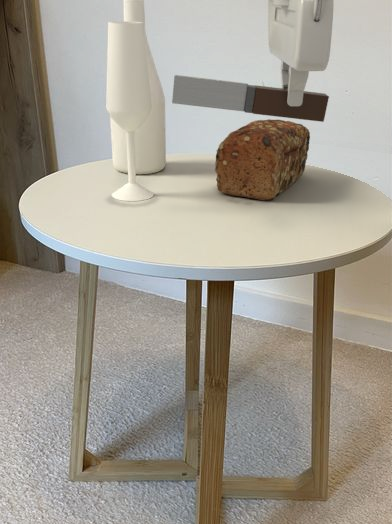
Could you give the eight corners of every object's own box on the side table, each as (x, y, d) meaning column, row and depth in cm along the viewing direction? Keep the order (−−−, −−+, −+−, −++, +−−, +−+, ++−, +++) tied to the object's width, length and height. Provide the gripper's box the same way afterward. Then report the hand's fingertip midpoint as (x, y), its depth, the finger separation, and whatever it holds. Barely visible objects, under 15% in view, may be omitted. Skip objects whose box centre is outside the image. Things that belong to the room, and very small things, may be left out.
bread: (273, 204, 92) (279, 136, 87) (210, 194, 96) (212, 129, 90) (308, 175, 106) (315, 115, 101) (252, 167, 110) (255, 110, 105)
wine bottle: (165, 161, 113) (162, -27, 97) (166, 175, 105) (163, -27, 89) (114, 162, 112) (103, -27, 97) (111, 175, 104) (99, -29, 88)
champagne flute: (121, 186, 98) (112, 20, 86) (159, 190, 97) (156, 21, 84) (104, 198, 93) (92, 22, 80) (145, 202, 91) (139, 24, 79)
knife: (320, 118, 77) (325, 91, 75) (323, 121, 75) (329, 94, 73) (172, 101, 75) (174, 73, 73) (172, 104, 73) (174, 76, 71)
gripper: (355, -30, 59) (336, 119, 66) (312, -27, 76) (300, 91, 83) (291, -32, 58) (279, 118, 65) (263, -28, 76) (255, 90, 83)
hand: (291, 102), depth 74 cm, fingers closed on knife, 2 cm apart
